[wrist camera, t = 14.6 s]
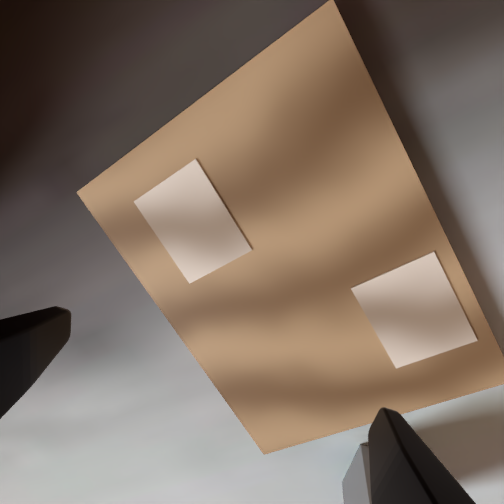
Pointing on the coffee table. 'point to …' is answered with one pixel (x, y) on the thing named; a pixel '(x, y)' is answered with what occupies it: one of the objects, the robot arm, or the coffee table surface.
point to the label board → (299, 246)
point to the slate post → (358, 479)
